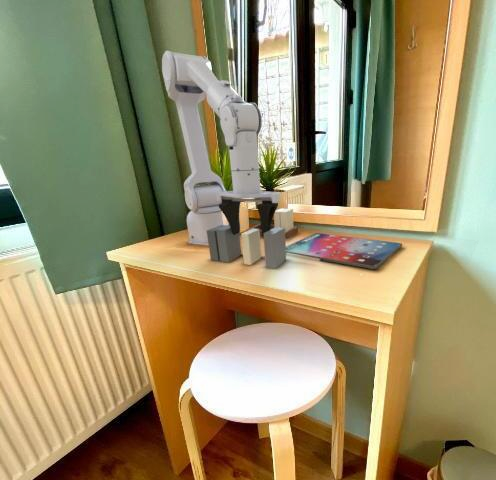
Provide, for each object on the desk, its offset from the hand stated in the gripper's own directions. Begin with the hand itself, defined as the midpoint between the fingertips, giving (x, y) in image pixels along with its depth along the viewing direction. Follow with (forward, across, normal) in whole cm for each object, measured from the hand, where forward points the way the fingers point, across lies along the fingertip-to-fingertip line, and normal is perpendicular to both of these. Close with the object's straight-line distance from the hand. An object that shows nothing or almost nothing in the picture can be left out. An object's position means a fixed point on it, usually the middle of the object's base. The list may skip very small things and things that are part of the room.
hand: (250, 234), depth 67 cm
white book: (+6, 0, 0) cm, 6 cm away
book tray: (+6, -6, +22) cm, 24 cm away
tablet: (+6, +17, +14) cm, 23 cm away
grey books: (+6, -1, 0) cm, 6 cm away
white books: (+6, -2, +22) cm, 23 cm away
